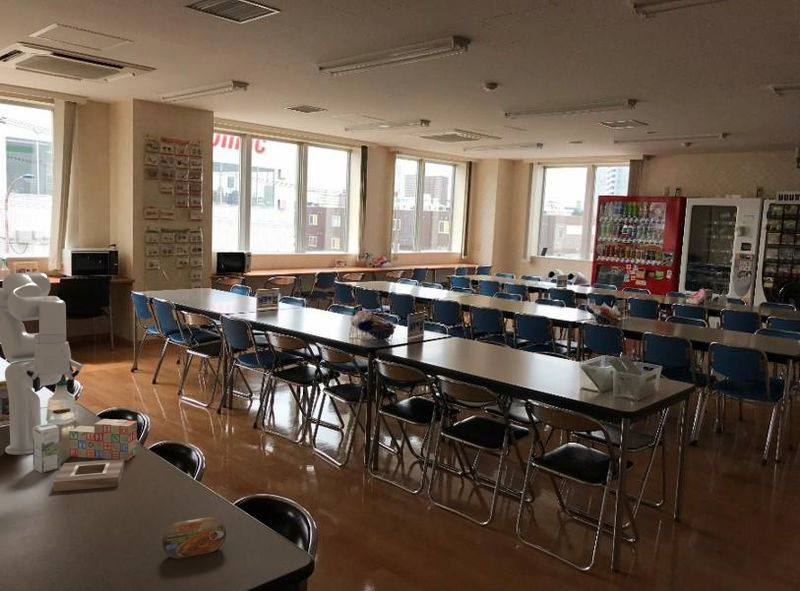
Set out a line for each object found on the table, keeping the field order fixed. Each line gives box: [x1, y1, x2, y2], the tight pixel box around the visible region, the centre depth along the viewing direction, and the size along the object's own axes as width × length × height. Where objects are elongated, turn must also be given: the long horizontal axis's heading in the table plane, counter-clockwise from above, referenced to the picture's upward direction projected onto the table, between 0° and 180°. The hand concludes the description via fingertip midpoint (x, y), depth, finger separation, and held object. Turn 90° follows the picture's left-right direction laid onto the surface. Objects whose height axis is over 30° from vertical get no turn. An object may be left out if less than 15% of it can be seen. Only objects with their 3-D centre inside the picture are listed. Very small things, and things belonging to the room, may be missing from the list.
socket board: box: [52, 459, 125, 492], centre depth 205 cm, size 16×18×3 cm
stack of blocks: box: [68, 418, 138, 461], centre depth 226 cm, size 21×6×12 cm, turn 85°
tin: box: [161, 516, 227, 559], centre depth 161 cm, size 15×3×8 cm, turn 114°
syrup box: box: [32, 422, 60, 474], centre depth 212 cm, size 6×6×14 cm
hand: (53, 390), depth 209 cm, fingers open, 9 cm apart
